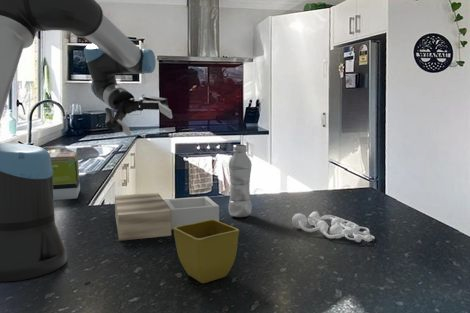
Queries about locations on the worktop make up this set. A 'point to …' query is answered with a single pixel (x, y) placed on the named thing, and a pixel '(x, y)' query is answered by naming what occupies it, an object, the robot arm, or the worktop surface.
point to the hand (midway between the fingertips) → (150, 123)
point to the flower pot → (206, 249)
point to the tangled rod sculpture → (335, 229)
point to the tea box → (65, 175)
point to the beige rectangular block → (142, 216)
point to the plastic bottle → (240, 182)
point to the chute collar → (192, 210)
